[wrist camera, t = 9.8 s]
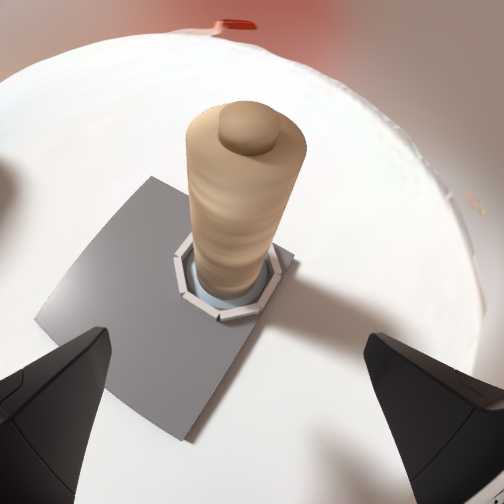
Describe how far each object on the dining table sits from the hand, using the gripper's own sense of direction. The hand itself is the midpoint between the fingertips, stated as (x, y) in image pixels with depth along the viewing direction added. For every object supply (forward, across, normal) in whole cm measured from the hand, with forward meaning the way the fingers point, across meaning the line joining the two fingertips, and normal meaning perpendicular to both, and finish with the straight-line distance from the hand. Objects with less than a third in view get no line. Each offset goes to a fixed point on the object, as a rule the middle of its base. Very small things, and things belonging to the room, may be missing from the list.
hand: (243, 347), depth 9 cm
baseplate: (+14, +6, +6) cm, 16 cm away
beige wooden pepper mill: (+14, 0, +3) cm, 15 cm away
